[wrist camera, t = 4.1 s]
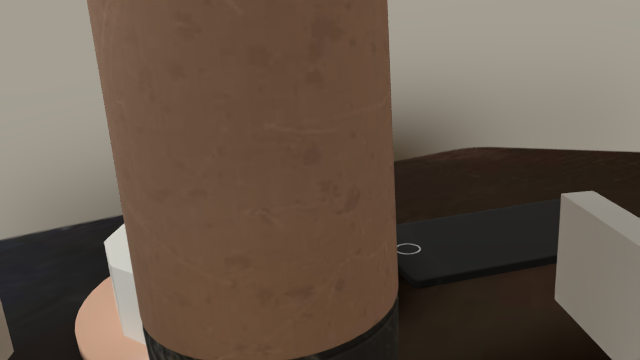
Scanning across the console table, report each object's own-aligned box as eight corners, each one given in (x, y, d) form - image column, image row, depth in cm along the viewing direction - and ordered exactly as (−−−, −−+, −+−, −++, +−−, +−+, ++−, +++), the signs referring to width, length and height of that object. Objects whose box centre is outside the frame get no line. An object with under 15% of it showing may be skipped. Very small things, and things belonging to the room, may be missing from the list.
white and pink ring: (13, 332, 33) (-7, 255, 31) (232, 224, 46) (226, 167, 45) (248, 458, 22) (235, 351, 21) (440, 272, 36) (440, 200, 35)
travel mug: (452, 522, 19) (455, -154, 13) (254, 688, 15) (126, -199, 9) (316, 406, 25) (276, -97, 19) (147, 500, 21) (27, -108, 15)
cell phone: (367, 240, 43) (366, 228, 43) (577, 205, 47) (578, 194, 46) (414, 295, 35) (413, 280, 34) (665, 247, 38) (667, 234, 38)
